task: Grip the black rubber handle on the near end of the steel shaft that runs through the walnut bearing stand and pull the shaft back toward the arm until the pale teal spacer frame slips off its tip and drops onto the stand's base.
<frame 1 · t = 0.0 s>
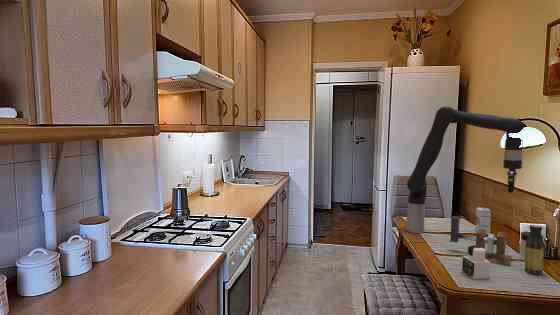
hand: (511, 191, 161), 29 cm above the table, tool pointing down, fingers open, 8 cm apart
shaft: (478, 232, 153), point 11 cm above the table, slide at 0.0 cm, touching spacer
jar: (530, 260, 148), on the table
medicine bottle: (475, 275, 132), on the table
bearing stand: (489, 257, 150), on the table
syrup box: (482, 233, 187), on the table
spacer: (490, 250, 150), point 4 cm above the table, touching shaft
sauce bottle: (533, 272, 135), on the table
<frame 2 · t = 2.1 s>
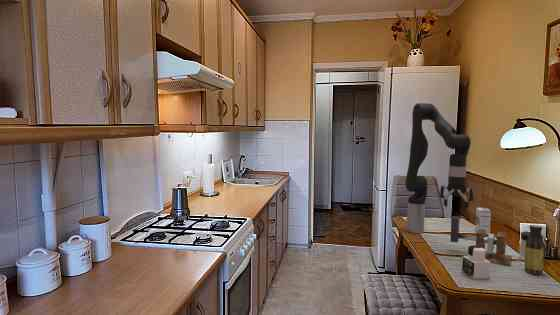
hand: (455, 207, 158), 22 cm above the table, tool pointing down, fingers open, 8 cm apart
nothing on the table moved.
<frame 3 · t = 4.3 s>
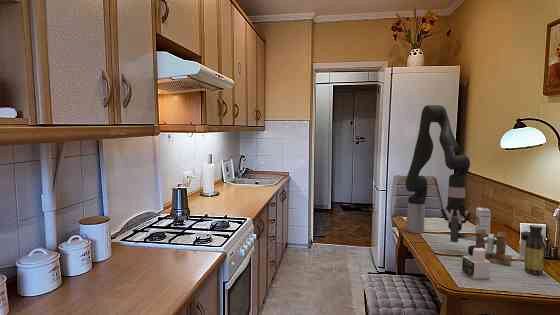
hand: (455, 229, 159), 11 cm above the table, tool pointing down, fingers closed on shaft, 3 cm apart
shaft: (477, 232, 153), point 11 cm above the table, slide at 0.0 cm, touching gripper, spacer
everything else where it was.
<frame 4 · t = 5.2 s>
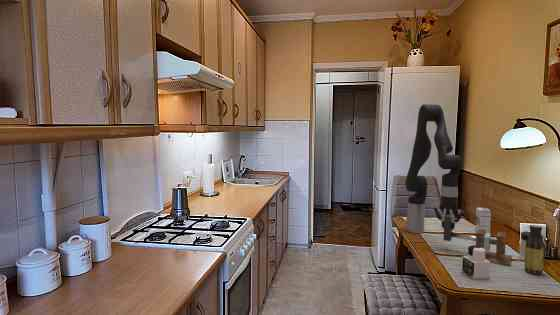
hand: (448, 228, 161), 11 cm above the table, tool pointing down, fingers closed on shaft, 3 cm apart
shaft: (470, 231, 155), point 11 cm above the table, slide at 3.1 cm, touching gripper, spacer
spacer: (486, 249, 151), point 4 cm above the table, touching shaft
everything else where it was.
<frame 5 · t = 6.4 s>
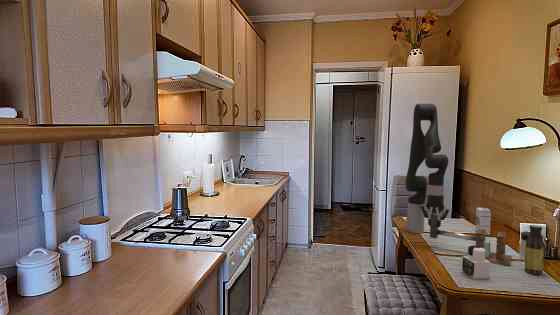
hand: (434, 226, 164), 11 cm above the table, tool pointing down, fingers closed on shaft, 3 cm apart
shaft: (455, 229, 158), point 11 cm above the table, slide at 9.5 cm, touching gripper
spacer: (487, 255, 151), point 1 cm above the table, touching bearing stand
everything else where it was.
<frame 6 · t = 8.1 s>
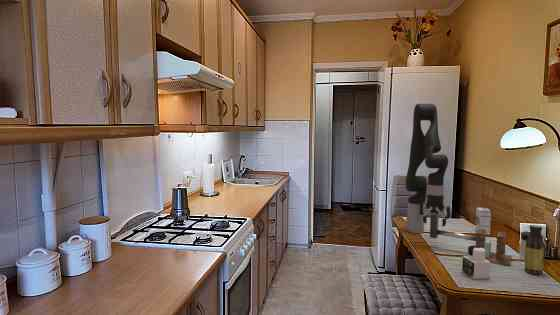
hand: (434, 224, 164), 12 cm above the table, tool pointing down, fingers open, 8 cm apart
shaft: (455, 229, 158), point 11 cm above the table, slide at 9.5 cm
everything else where it was.
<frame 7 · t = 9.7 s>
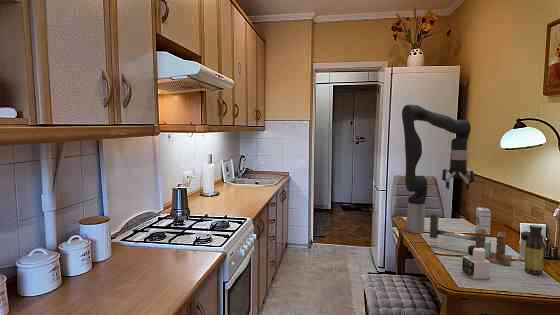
hand: (457, 189, 166), 29 cm above the table, tool pointing down, fingers open, 8 cm apart
nothing on the table moved.
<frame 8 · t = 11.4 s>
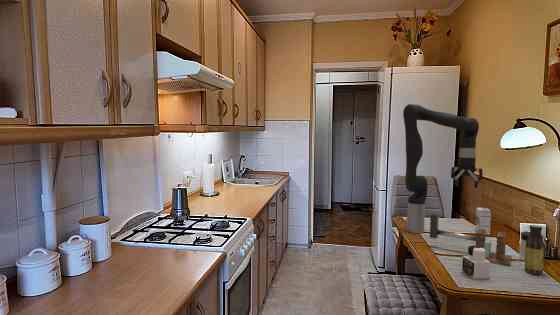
hand: (466, 187, 168), 30 cm above the table, tool pointing down, fingers open, 8 cm apart
nothing on the table moved.
at the end: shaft slide at 9.5 cm; spacer point 1.0 cm above the table; spacer touching bearing stand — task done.
